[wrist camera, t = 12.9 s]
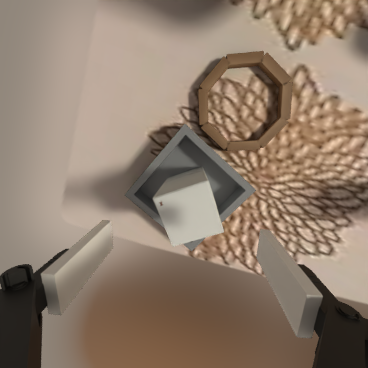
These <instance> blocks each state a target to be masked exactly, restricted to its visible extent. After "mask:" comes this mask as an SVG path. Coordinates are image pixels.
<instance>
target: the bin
mask: <svg viewBox="0 0 368 368" xmlns="http://www.w3.org/2000/svg"><path fill="white" fill-rule="evenodd" d="M199 167H203V169H204V171H205V174H206V177H207V179H208V181H209V183H210V186H211V189H212V193H213V196H214V199H215V202H216V206H217V209H218V213H219V216H220V219H221V223H222V222H223V221H224V220H225V219H226V218H227V217H228V216H229V215H230V214H231V213H232V212H233V211H234V210H236V209H237V208H238V207H239V206H240V205H241V204H242V203H243V202H244V201H245V200H246V199H247V198H248V197H249V196H250V195H251V194H252V193H254V192H255V191H256V190H255V189H254V188H253V187H252V186H251V185H250V184H249V183H248V182H247V181H246V180H245V179H244V178H243V177H242V176H240V175H239V174H238V173H237V172H236V171H235V170H234V169H233V168H232V167H231V166H230V165H229V164H228V163H227V162H225V161H224V160H223V159H222V158H221V157H220V156H219V155H218V154H217V153H216V152H215V151H214V150H213V149H212V148H211V147H209V146H208V145H207V144H206V143H205V142H204V141H203V140H202V139H201V138H200V137H199V136H198V135H197V134H196V133H194V132H193V131H192V130H191V129H190V128H189V127H188V126H187V125H186V124H184V125H183V126H182V128H181V129H180V130H179V131H178V132H177V134H176V135H175V136H174V137H173V138H172V139H171V141H170V142H169V143H168V144H167V145H166V147H165V148H164V149H163V150H162V151H161V152H160V154H159V155H158V156H157V157H156V158H155V160H154V161H153V162H152V163H151V164H150V165H149V167H148V168H147V169H146V170H145V171H144V173H143V174H142V175H141V176H140V177H139V178H138V180H137V181H136V182H135V183H134V184H133V186H132V187H131V188H130V189H129V190H128V191H127V193H126V194H125V196H126V197H127V198H129V199H130V200H131V201H132V202H133V203H135V204H136V205H137V206H138V207H139V208H141V209H142V210H143V211H144V212H145V213H147V214H148V215H149V216H150V217H151V218H153V219H154V220H155V221H156V222H157V223H159V224H160V225H161V226H162V227H163V228H165V227H164V225H163V222H162V220H161V217H160V215H159V213H158V210H157V208H156V205H155V203H154V201H153V197H154V196H155V194H156V193H157V191H158V190H159V189H160V187H161V186H162V185H163V183H164V182H165V181H166V179H167V178H169V177H172V176H175V175H178V174H180V173H183V172H186V171H189V170H192V169H195V168H199ZM205 238H206V237H205ZM205 238H202V239H198V240H195V241H191V242H188V243H184V245H185V246H186V247H187V248H188V249H190V250H191V251H192V250H193V249H194V248H195V247H196V246H197V245H199V244H200V243H201V242H202V241H203V240H204V239H205Z"/></svg>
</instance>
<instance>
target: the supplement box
mask: <svg viewBox="0 0 368 368" xmlns="http://www.w3.org/2000/svg"><path fill="white" fill-rule="evenodd" d="M153 201H154V203H155V205H156V208H157V210H158V213H159V215H160V217H161V220H162V222H163V225H164V227H165V230H166V232H167V235H168V237H169V240H170V242H171V244H172V246H173V247H174V246H177V245H181V244H184V243H188V242H191V241H195V240H198V239H202V238H205V237H209V236H213V235H216V234H220V233H223V232H224V230H223V226H222V223H221V219H220V216H219V213H218V209H217V206H216V202H215V199H214V196H213V193H212V189H211V186H210V183H209V181H208V179H207V177H206V174H205V171H204V169H203V167H199V168H195V169H192V170H189V171H186V172H183V173H180V174H178V175H175V176H172V177H169V178H167V179H166V181H165V182H164V183H163V185H162V186H161V187H160V189H159V190H158V191H157V193H156V194H155V196H154V197H153Z"/></svg>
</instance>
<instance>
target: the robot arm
mask: <svg viewBox="0 0 368 368" xmlns="http://www.w3.org/2000/svg"><path fill="white" fill-rule="evenodd" d="M112 238H113V237H112V224H111V221H110V220H102V221H101V222H100V223H99V224H98V225H97V226H96V227H94V228H93V229H92V230H91V231H90V232H89V233H87V234H86V235H85V236H84V237H83V238H82V239H81V240H79V241H78V242H77V243H76V244H75V245H74V246H72V247H71V248H70V249H65V250H63V251H61V252H59V253H58V254H57V255H55V256H54V257H53V259H51V260H50V261H48V263H46V264H45V265H43V266H42V267H41V268H40V269H39V270H38V271H36V272H35V273H34V274H33V269H32V266H31V265H29V264H23V265H18V266H15V267H13V268H11V269H9V270H7V271H5V272H4V273H2V275H1V276H0V284H1V287H2V289H0V368H41V346H42V313H41V312H42V311H43V310H44V309H45V308H46V306H47V308H48V313H49V314H54V315H62V314H63V312H64V311H65V310H66V308H67V307H68V306H69V305H70V303H71V302H72V301H73V299H74V298H75V297H76V295H77V294H78V293H79V291H80V290H81V289H82V287H83V286H84V285H85V284H86V282H87V281H88V280H89V278H90V277H91V276H92V275H93V273H94V272H95V271H96V269H97V268H98V267H99V265H100V264H101V263H102V262H103V260H104V259H105V257H106V256H107V255H108V254H109V253H110V251H111V250H112V249H113V239H112ZM256 258H257V260H258V262H259V264H260V266H261V268H262V270H263V272H264V273H265V275H266V277H267V279H268V281H269V283H270V285H271V287H272V289H273V291H274V293H275V295H276V297H277V299H278V301H279V303H280V305H281V307H282V309H283V310H284V313H285V315H286V317H287V319H288V321H289V323H290V325H291V327H292V329H293V331H294V332H295V335H296V337H302V338H312V335H313V331H314V330H315V332H316V333H317V335H318V337H319V340H318V344H317V347H316V351H315V358H314V362H313V367H312V368H368V319H365V318H363V317H362V316H361V315H360V313H359V312H357V311H356V310H355V309H354V308H352V307H351V306H349V305H347V304H345V303H342V302H340V301H338V300H337V299H336V298H335V297H334V295H333V294H332V293H331V292H330V291H329V290H328V289H327V287H326V286H325V285H324V284H323V283H322V282H321V281H320V280H319V278H317V276H316V275H315V274H314V273H313V272H312V270H310V269H309V268H307V267H306V266H305V265H301V264H297V263H296V262H295V261H294V259H293V258H292V257H291V256H290V254H289V253H288V252H287V251H286V250H285V248H284V247H283V246H282V245H281V243H280V242H279V241H278V240H277V238H276V237H275V236H274V235H273V233H272V232H271V231H270V230H262V229H260V236H259V243H258V250H257V256H256Z"/></svg>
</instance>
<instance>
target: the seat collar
mask: <svg viewBox="0 0 368 368" xmlns="http://www.w3.org/2000/svg"><path fill="white" fill-rule="evenodd" d="M253 66H258V67H259V68H260V69H261V70H262V71H263V72H264V73H265V74H266V75H267V76H268V77H269V78H270V79H271V80H272V81H273V82H274V83H275V84H276V85H277V86H278V87H279V91H278V108H277V119H276V120H275V121H274V122H273V123H272V124H271V125H270V126H269V127H268V128H267V129H266V130H265V131H264V132H263V133H262V134H261V136H260V137H259V138H258V139H257V140H256V141H239V142H228V141H227V140H226V139H225V138H224V137H223V136H222V135H221V134H220V133H219V132H218V131H217V130H216V129H215V128H214V127H213V126H212V125H211V124H210V123H209V122H208V91H209V90H210V89H211V88H212V87H213V85H214V84H215V83H216V82H217V81H218V79H219V78H220V77H221V76H222V75H223V73H224V72H225V71H226V70H227V69H229V68H241V67H253ZM291 79H292V78H291V77H290V76H289V75H288V74H287V73H286V72H285V71H284V70H283V69H282V68H281V66H280V65H279V64H278V63H277V62H276V61H275V60H274V59H273V58H272V57H271V56H270V55H269V54H268V53H266V54H265V55H264V51H259V52H248V53H237V54H227V56H226V58H225V57H223V58H222V59H221V60H220V62H219V63H218V64H217V65H216V66H215V68H214V69H213V70H212V71H211V72H210V74H209V75H208V76H207V77H206V79H205V80H204V81H203V82H202V83H201V85H200V87H199V89H198V99H199V126H201V125H203V126H202V127H201V129H202V130H203V131H204V132H205V133H206V134H207V135H208V136H209V137H210V138H211V139H212V140H213V141H214V142H216V143H217V144H218V145H219V146H220V147H221V148H222V149H223V150H225V149H226V151H237V150H255V149H260V148H263V147H264V146H265V145H266V144H267V143H268V142H269V141H270V140H271V139H272V138H273V137H274V136H275V135H276V134H277V133H278V132H279V131H280V130H281V129H282V128H283V127H284V126H285V125H286V124H287V123H288V121H287V120H288V119H290V114H291V100H292V86H293V82H289V81H290V80H291Z"/></svg>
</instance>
